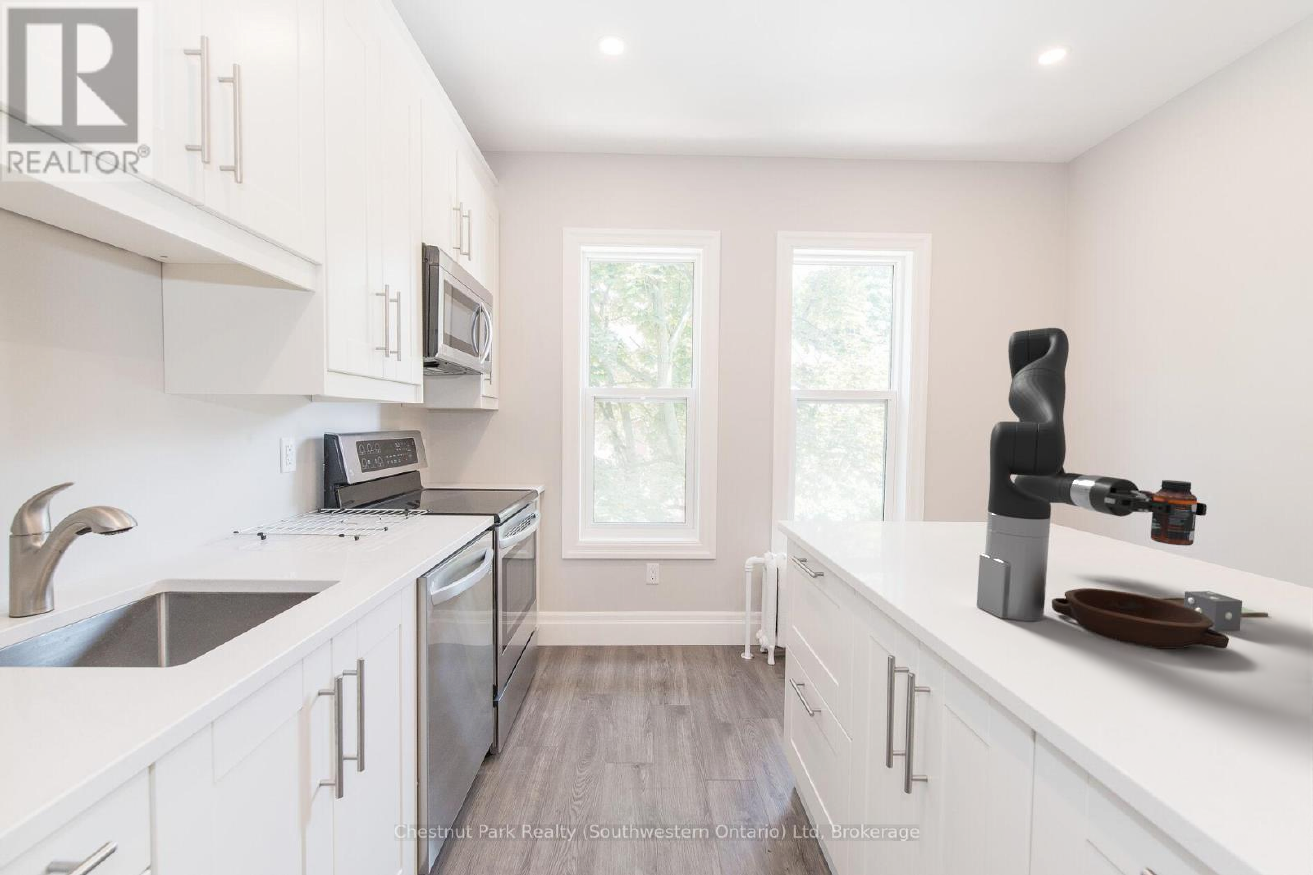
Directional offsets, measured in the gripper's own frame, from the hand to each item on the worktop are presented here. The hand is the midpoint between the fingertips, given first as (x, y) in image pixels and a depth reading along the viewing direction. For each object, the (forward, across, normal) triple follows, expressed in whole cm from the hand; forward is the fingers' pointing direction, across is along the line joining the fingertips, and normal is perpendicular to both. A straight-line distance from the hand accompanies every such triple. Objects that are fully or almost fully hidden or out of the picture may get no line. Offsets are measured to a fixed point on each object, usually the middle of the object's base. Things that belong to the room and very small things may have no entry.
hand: (1188, 509), depth 103 cm
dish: (+8, -19, +19) cm, 28 cm away
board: (-2, +5, +19) cm, 19 cm away
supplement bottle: (-2, 0, +7) cm, 7 cm away
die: (+6, -1, +19) cm, 20 cm away
